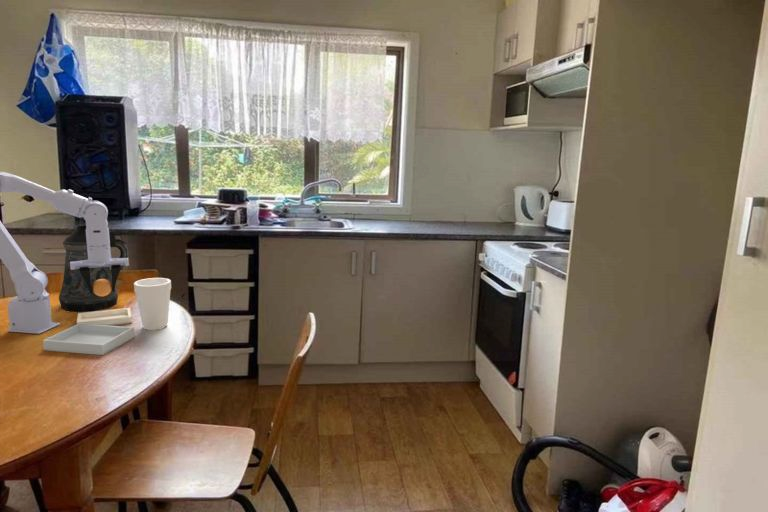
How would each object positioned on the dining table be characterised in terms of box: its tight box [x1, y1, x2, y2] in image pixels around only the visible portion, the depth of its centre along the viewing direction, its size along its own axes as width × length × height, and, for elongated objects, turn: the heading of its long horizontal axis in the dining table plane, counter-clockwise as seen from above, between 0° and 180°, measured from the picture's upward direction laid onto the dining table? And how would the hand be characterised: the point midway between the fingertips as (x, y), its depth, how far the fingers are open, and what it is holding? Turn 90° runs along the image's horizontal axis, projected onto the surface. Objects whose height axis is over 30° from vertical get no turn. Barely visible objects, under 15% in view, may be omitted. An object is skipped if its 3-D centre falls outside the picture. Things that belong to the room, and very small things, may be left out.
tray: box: [42, 323, 135, 356], centre depth 137 cm, size 16×13×3 cm
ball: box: [92, 279, 112, 296], centre depth 151 cm, size 5×5×5 cm
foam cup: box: [133, 277, 172, 331], centre depth 150 cm, size 10×9×13 cm
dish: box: [76, 307, 133, 326], centre depth 154 cm, size 14×9×2 cm
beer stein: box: [58, 225, 129, 313], centre depth 167 cm, size 16×19×25 cm
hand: (102, 291), depth 152 cm, fingers closed on ball, 5 cm apart
